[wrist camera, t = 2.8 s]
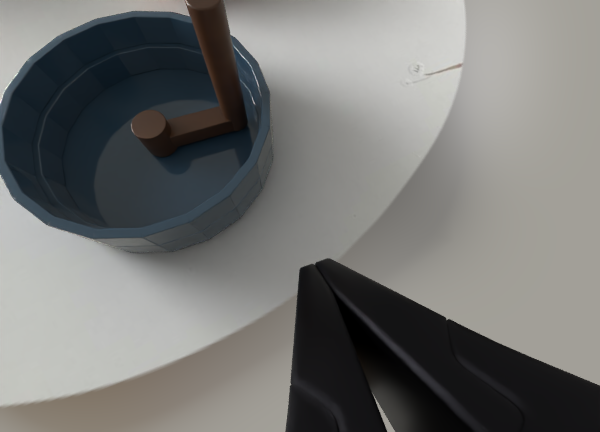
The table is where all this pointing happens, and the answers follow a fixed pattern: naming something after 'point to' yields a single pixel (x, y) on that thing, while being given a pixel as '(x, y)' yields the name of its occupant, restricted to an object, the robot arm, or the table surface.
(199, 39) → the crank handle
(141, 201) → the bowl
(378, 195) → the table surface
